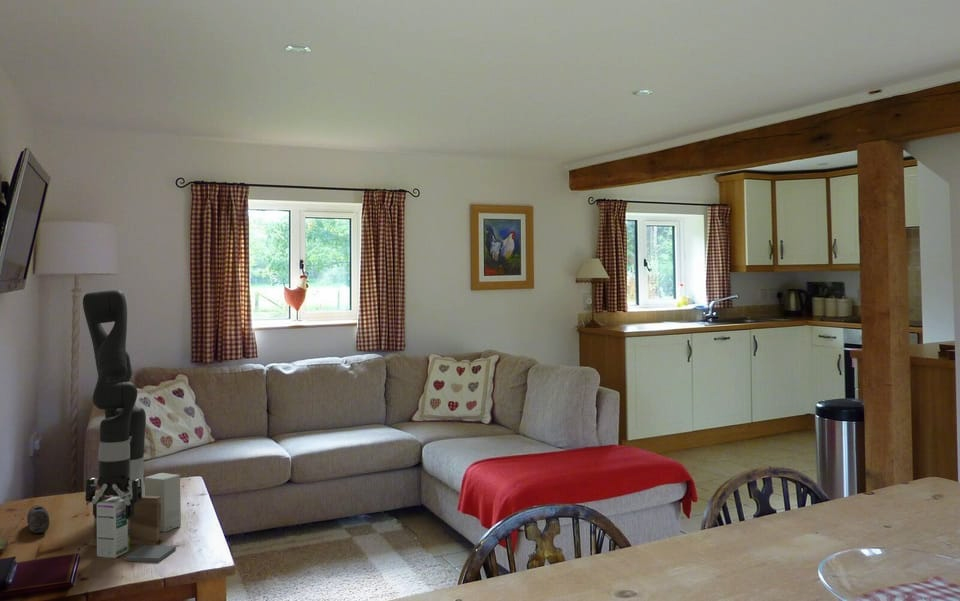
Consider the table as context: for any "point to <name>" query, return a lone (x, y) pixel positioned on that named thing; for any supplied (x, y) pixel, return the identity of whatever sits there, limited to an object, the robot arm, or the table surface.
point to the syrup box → (112, 528)
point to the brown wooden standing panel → (142, 522)
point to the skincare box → (166, 498)
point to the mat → (150, 553)
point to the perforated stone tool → (38, 519)
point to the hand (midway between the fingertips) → (113, 517)
